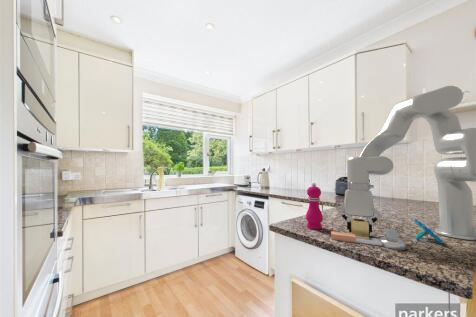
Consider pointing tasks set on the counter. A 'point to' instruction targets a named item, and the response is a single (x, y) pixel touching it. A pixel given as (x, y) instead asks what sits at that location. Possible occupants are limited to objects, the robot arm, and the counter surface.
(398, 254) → the counter surface
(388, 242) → the ratchet
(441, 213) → the robot arm
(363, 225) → the olive open-top box
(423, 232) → the teal branched frame
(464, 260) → the counter surface
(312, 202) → the pepper mill
